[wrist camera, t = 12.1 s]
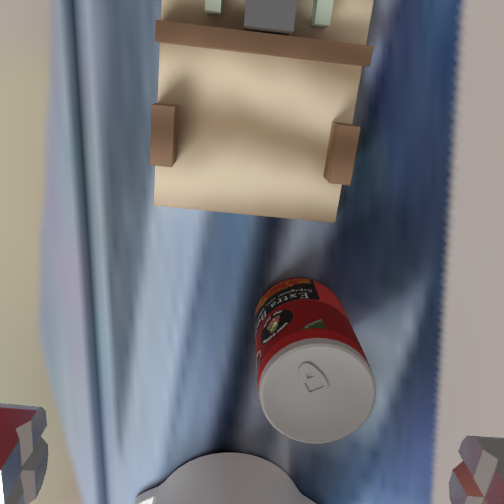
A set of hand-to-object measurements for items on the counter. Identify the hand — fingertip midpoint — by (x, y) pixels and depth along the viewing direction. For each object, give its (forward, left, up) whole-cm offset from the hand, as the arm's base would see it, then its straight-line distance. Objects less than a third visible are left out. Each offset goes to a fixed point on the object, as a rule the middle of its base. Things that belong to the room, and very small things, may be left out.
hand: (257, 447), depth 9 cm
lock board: (+9, -1, -29) cm, 30 cm away
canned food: (-12, -6, -29) cm, 32 cm away
